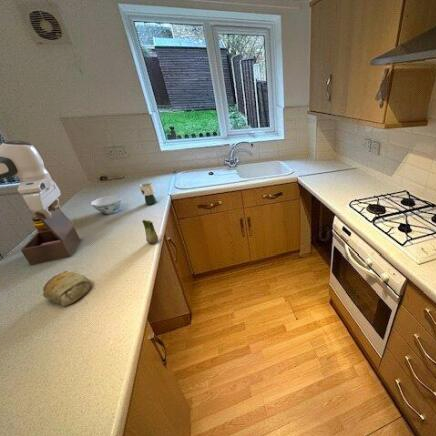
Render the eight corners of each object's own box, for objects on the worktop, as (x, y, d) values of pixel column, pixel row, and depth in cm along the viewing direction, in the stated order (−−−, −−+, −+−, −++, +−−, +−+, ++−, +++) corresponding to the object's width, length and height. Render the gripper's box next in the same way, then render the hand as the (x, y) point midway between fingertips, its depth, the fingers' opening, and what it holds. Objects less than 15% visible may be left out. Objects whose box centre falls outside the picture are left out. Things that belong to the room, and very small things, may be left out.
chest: (30, 265, 101) (20, 249, 98) (45, 246, 114) (36, 232, 110) (70, 256, 106) (62, 241, 103) (80, 239, 119) (73, 225, 115)
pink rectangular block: (41, 255, 106) (37, 248, 105) (45, 249, 110) (42, 243, 108) (61, 251, 109) (58, 244, 107) (65, 246, 112) (61, 239, 111)
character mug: (144, 202, 160) (138, 183, 154) (155, 199, 163) (150, 181, 157) (146, 207, 152) (140, 188, 146) (159, 204, 156) (153, 185, 150)
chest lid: (33, 213, 95) (46, 209, 96) (49, 199, 107) (60, 196, 108) (60, 241, 102) (72, 237, 104) (72, 225, 115) (82, 221, 116)
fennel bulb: (160, 242, 115) (153, 220, 110) (149, 246, 113) (141, 224, 107) (157, 238, 119) (150, 216, 114) (146, 241, 116) (138, 219, 111)
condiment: (40, 243, 116) (27, 221, 111) (44, 235, 123) (32, 214, 117) (59, 238, 120) (47, 217, 114) (63, 231, 126) (52, 211, 121)
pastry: (56, 286, 90) (46, 269, 86) (96, 276, 94) (88, 260, 91) (39, 313, 78) (26, 296, 75) (85, 301, 83) (75, 284, 79)
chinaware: (118, 204, 156) (114, 193, 153) (129, 210, 149) (125, 198, 145) (92, 213, 145) (86, 201, 142) (102, 219, 138) (97, 207, 134)
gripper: (38, 176, 104) (53, 205, 111) (14, 191, 88) (34, 224, 94) (56, 174, 107) (70, 202, 113) (37, 188, 90) (54, 221, 97)
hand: (53, 212), depth 104 cm, fingers open, 8 cm apart
